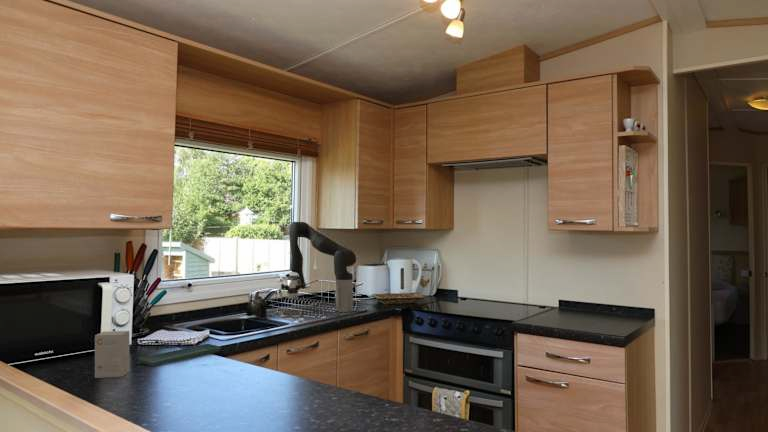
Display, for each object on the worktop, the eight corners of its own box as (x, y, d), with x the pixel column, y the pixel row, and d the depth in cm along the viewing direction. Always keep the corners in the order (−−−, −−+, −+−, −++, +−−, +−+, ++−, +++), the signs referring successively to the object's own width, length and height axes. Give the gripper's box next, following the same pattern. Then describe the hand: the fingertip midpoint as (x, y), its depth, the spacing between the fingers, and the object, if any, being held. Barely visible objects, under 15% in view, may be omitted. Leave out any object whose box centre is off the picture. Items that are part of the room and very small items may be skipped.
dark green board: (152, 368, 170) (152, 361, 170) (138, 364, 175) (138, 357, 176) (221, 353, 190) (221, 346, 190) (207, 349, 196) (207, 343, 196)
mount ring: (300, 312, 275) (300, 309, 275) (299, 315, 266) (299, 312, 266) (283, 313, 274) (283, 310, 274) (281, 315, 265) (281, 312, 265)
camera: (242, 315, 272) (242, 296, 272) (260, 314, 276) (260, 295, 276) (249, 321, 256) (249, 300, 256) (268, 319, 260) (268, 299, 260)
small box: (129, 371, 165) (130, 330, 165) (121, 377, 158) (122, 334, 159) (103, 372, 164) (103, 331, 164) (93, 378, 158) (94, 335, 158)
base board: (301, 313, 275) (301, 312, 275) (300, 317, 265) (300, 315, 265) (282, 314, 274) (282, 312, 274) (280, 317, 264) (280, 316, 264)
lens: (298, 297, 284) (298, 278, 284) (297, 298, 278) (297, 279, 279) (287, 298, 283) (287, 279, 284) (287, 299, 278) (286, 279, 278)
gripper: (281, 278, 294) (278, 281, 278) (306, 277, 296) (305, 280, 279) (281, 291, 294) (278, 295, 277) (307, 290, 296) (306, 294, 279)
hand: (292, 287), depth 278 cm, fingers closed on lens, 5 cm apart
